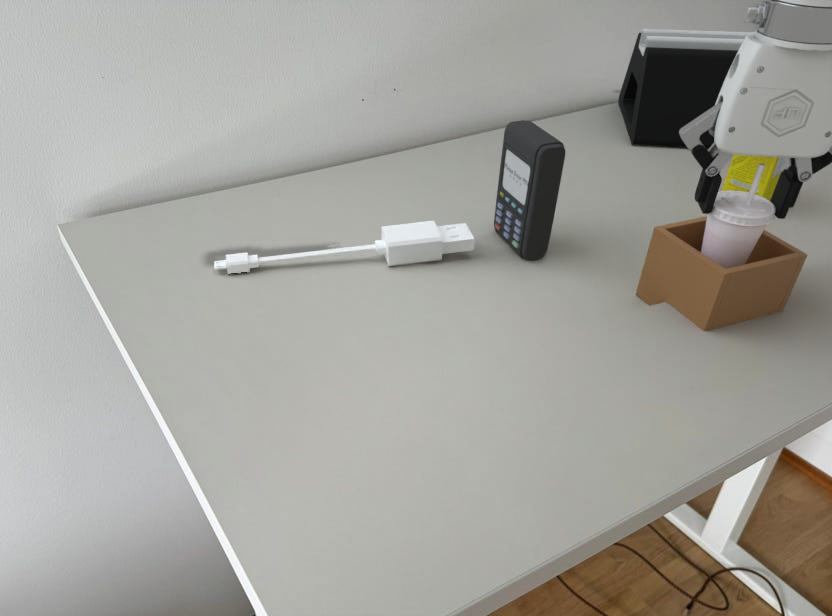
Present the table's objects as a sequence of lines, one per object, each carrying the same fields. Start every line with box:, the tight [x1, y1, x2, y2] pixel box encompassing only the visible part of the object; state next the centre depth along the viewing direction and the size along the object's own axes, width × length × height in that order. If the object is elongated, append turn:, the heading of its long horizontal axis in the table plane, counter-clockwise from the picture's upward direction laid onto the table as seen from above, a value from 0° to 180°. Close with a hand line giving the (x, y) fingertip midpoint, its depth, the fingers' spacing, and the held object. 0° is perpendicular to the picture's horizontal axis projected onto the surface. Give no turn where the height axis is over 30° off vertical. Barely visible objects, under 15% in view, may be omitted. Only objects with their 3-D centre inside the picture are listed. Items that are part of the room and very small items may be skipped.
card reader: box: [493, 119, 566, 261], centre depth 88 cm, size 9×4×15 cm, turn 18°
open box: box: [635, 215, 808, 332], centre depth 78 cm, size 11×11×9 cm
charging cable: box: [213, 220, 475, 275], centre depth 89 cm, size 5×32×3 cm, turn 98°
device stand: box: [618, 28, 749, 150], centre depth 120 cm, size 22×22×15 cm
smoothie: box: [701, 163, 776, 269], centre depth 74 cm, size 6×6×14 cm
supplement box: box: [721, 155, 790, 201], centre depth 98 cm, size 6×6×11 cm
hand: (740, 208), depth 73 cm, fingers closed on smoothie, 6 cm apart
